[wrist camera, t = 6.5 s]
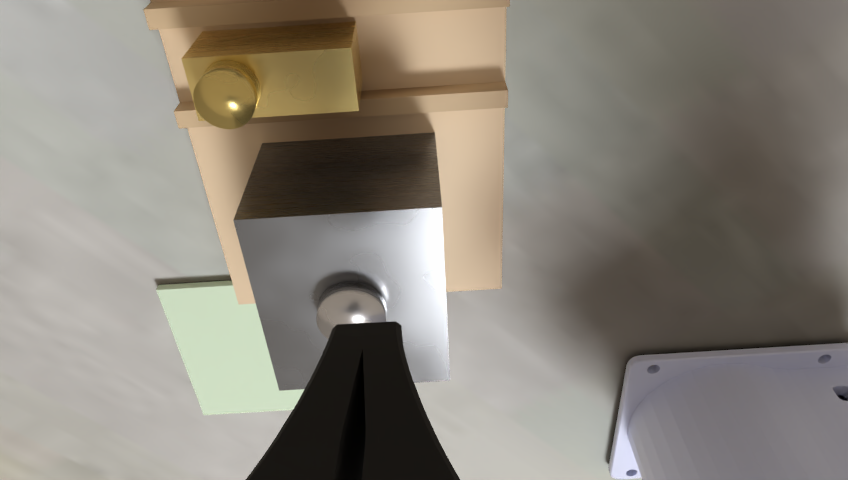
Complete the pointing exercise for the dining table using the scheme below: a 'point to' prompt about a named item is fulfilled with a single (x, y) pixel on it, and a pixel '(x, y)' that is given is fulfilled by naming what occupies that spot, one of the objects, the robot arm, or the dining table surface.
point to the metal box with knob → (346, 248)
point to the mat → (223, 349)
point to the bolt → (274, 72)
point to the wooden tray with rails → (371, 110)
